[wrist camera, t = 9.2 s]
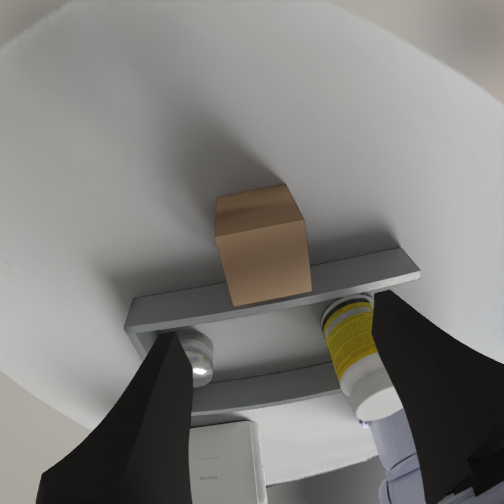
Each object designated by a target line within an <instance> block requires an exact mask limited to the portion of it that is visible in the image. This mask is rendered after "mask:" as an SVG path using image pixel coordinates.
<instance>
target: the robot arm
mask: <svg viewBox="0 0 504 504" xmlns="http://www.w3.org/2000/svg"><path fill="white" fill-rule="evenodd" d="M371 334H372V337H373V340H374V343H375V346H376V348H377V351H378V354H379V357H380V359H381V361H382V363H383V365H384V367H385V369H386V371H387V373H388V375H389V378H390V380H391V382H392V384H393V386H394V388H395V390H396V392H397V394H398V396H399V399H400V401H401V403H402V406H403V408H402V409H400V410H399V411H397V412H395V413H394V414H392V415H390V416H387V417H385V418H382V419H378V420H373V421H363V420H362V424H361V426H362V428H366V427H370V429H371V432H372V435H373V438H374V441H375V444H376V447H377V450H378V454H379V457H380V460H381V462H382V465H383V466H384V467H385V468H386V469H387V470H388V471H387V472H385V474H386V477H387V479H385V480H383V481H382V484H381V486H380V489H379V499H380V504H504V364H502V363H500V362H497V361H495V360H493V359H491V358H489V357H487V356H485V355H483V354H481V353H479V352H477V351H475V350H473V349H472V348H470V347H468V346H466V345H465V344H463V343H461V342H460V341H458V340H456V339H455V338H453V337H452V336H450V335H449V334H447V333H446V332H444V331H443V330H442V329H440V328H439V327H437V326H436V325H435V324H433V323H432V322H431V321H429V320H428V319H427V318H425V317H424V316H423V315H421V314H420V313H419V312H417V311H416V310H415V309H414V308H412V307H411V306H410V305H409V304H407V303H406V302H405V301H404V300H402V299H401V298H400V297H399V296H397V295H396V294H395V293H394V292H392V291H391V290H386V291H382V292H378V293H375V295H374V309H373V320H372V331H371ZM192 401H193V368H192V365H191V363H190V361H189V359H188V357H187V355H186V353H185V351H184V349H183V347H182V345H181V343H180V341H179V338H178V336H177V334H176V332H168V333H161V334H159V336H158V337H157V339H156V340H155V342H154V344H153V345H152V347H151V349H150V351H149V352H148V354H147V356H146V357H145V359H144V361H143V362H142V364H141V366H140V367H139V369H138V371H137V372H136V374H135V376H134V377H133V379H132V380H131V382H130V384H129V385H128V387H127V388H126V389H125V391H124V392H123V394H122V395H121V397H120V398H119V400H118V401H117V403H116V404H115V405H114V407H113V408H112V409H111V411H110V412H109V413H108V414H107V416H106V417H105V418H104V419H103V420H102V422H101V423H100V424H99V425H98V426H97V427H96V428H95V429H94V430H93V431H92V432H91V433H90V434H89V435H88V437H87V438H86V439H85V440H84V441H83V442H82V443H80V445H78V446H77V447H76V448H75V449H74V450H73V451H72V452H71V453H69V454H68V455H67V456H66V457H64V458H63V459H62V460H61V461H59V462H58V463H57V464H55V465H54V466H52V467H51V468H50V469H48V470H47V471H45V472H44V473H43V474H42V476H41V480H40V484H39V489H38V493H37V498H36V504H193V503H192V495H191V485H190V472H189V435H190V423H191V412H192Z"/></svg>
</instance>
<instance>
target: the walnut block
mask: <svg viewBox="0 0 504 504" xmlns="http://www.w3.org/2000/svg"><path fill="white" fill-rule="evenodd" d="M214 238H215V242H216V245H217V249H218V252H219V256H220V260H221V263H222V267H223V270H224V274H225V277H226V281H227V284H228V288H229V291H230V295H231V298H232V302H233V305H234V306H239V305H244V304H250V303H255V302H260V301H266V300H271V299H276V298H281V297H286V296H291V295H296V294H301V293H305V292H310V291H312V285H311V274H310V265H309V255H308V246H307V237H306V229H305V220H304V218H303V216H302V214H301V212H300V210H299V208H298V206H297V204H296V202H295V200H294V198H293V197H292V195H291V193H290V191H289V189H288V187H287V185H286V184H282V185H277V186H272V187H266V188H261V189H256V190H251V191H246V192H241V193H236V194H231V195H226V196H222V197H217V209H216V222H215V235H214Z"/></svg>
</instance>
